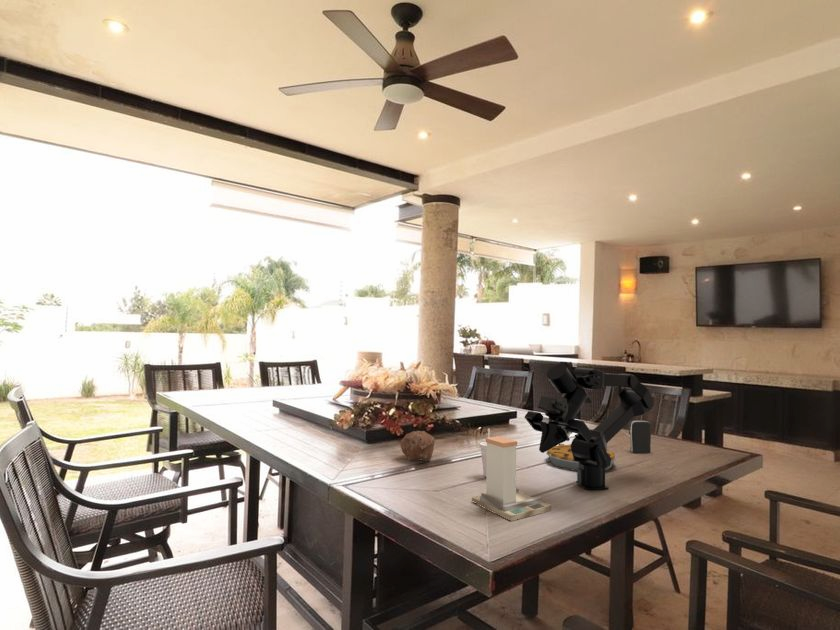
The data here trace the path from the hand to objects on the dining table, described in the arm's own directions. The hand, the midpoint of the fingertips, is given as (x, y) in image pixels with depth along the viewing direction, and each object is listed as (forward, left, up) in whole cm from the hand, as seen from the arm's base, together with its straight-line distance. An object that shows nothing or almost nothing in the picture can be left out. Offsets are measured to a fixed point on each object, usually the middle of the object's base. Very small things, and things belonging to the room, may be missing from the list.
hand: (541, 451), depth 121 cm
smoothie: (+8, -19, -12) cm, 24 cm away
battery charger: (-55, -44, -12) cm, 72 cm away
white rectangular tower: (+12, +6, -11) cm, 17 cm away
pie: (-26, -31, -12) cm, 43 cm away
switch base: (+9, +4, -12) cm, 16 cm away
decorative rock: (+27, -40, -12) cm, 50 cm away
